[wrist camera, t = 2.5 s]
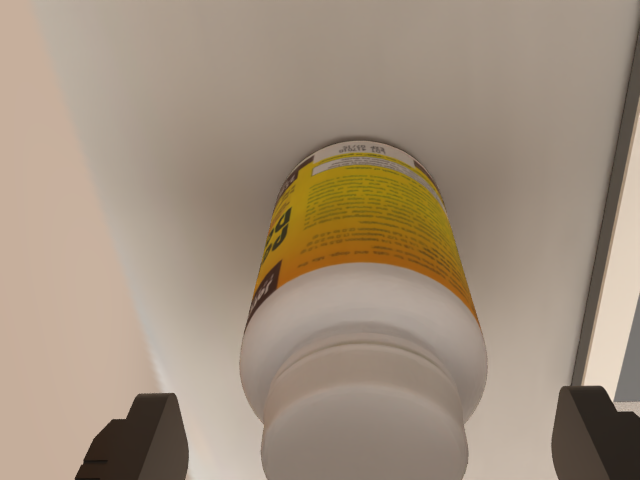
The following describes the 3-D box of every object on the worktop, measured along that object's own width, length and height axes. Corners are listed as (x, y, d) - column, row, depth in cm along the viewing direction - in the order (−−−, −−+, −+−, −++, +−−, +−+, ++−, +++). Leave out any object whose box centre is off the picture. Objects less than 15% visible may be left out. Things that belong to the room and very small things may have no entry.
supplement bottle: (277, 128, 19) (212, 337, 10) (455, 140, 19) (549, 362, 10) (273, 277, 22) (220, 544, 13) (428, 288, 22) (483, 564, 13)
